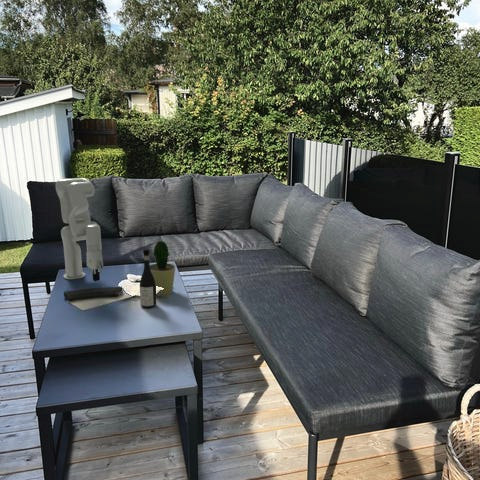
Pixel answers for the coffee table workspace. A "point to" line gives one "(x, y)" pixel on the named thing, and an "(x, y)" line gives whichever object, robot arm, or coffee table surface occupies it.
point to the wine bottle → (147, 284)
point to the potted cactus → (162, 269)
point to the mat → (97, 301)
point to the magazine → (93, 293)
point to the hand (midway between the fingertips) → (96, 280)
